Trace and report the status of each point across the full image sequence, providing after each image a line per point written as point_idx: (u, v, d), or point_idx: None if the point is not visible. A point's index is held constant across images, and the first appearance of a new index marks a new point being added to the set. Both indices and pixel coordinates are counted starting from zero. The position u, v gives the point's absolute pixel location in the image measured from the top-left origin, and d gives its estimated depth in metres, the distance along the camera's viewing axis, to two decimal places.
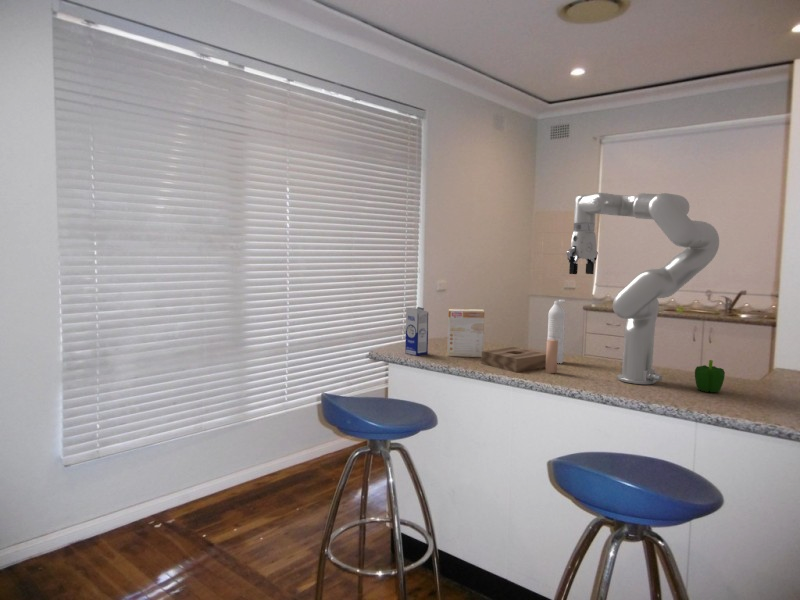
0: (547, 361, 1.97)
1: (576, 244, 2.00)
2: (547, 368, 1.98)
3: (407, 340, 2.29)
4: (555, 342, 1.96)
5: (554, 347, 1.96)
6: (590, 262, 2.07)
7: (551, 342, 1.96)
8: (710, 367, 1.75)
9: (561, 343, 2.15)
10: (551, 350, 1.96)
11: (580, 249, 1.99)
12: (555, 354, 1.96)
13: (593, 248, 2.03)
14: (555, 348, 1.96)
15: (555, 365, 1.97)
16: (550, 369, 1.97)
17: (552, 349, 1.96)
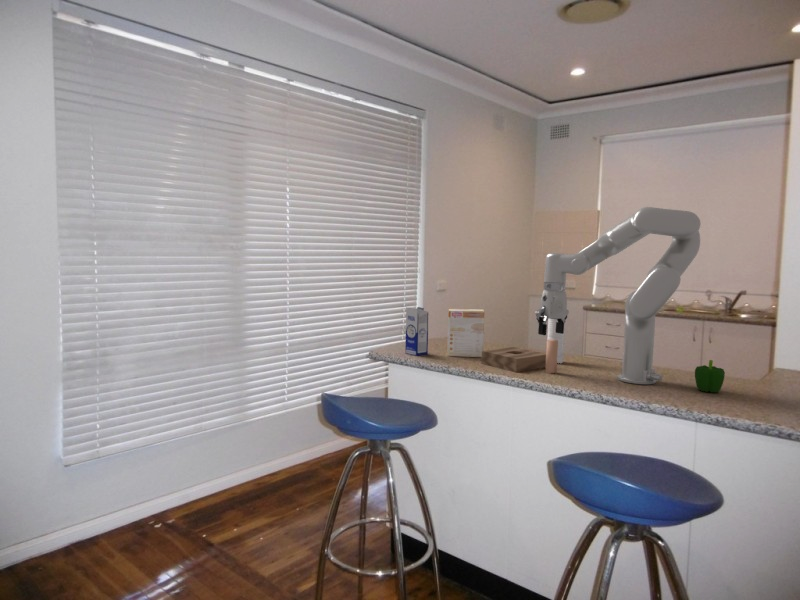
0: (547, 361, 1.97)
1: (545, 304, 1.93)
2: (547, 368, 1.98)
3: (407, 340, 2.29)
4: (555, 342, 1.96)
5: (554, 347, 1.96)
6: (560, 321, 2.00)
7: (551, 342, 1.96)
8: (710, 367, 1.75)
9: (561, 343, 2.15)
10: (551, 350, 1.96)
11: (549, 310, 1.92)
12: (555, 354, 1.96)
13: (563, 308, 1.96)
14: (555, 348, 1.96)
15: (555, 365, 1.97)
16: (550, 369, 1.97)
17: (552, 349, 1.96)
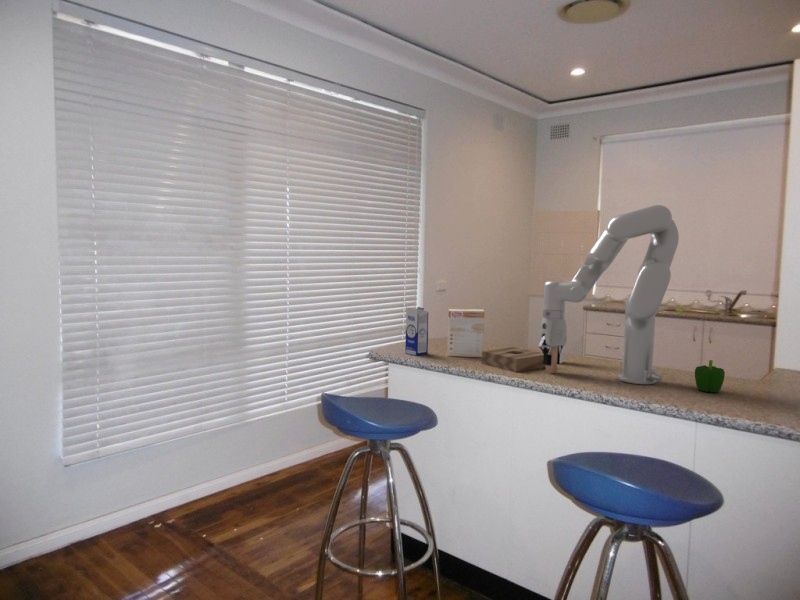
0: None
1: (545, 332, 1.94)
2: (547, 368, 1.98)
3: (407, 340, 2.29)
4: None
5: (554, 347, 1.96)
6: None
7: None
8: (710, 367, 1.75)
9: None
10: (551, 350, 1.96)
11: (549, 338, 1.93)
12: (555, 354, 1.96)
13: (563, 335, 1.97)
14: (555, 348, 1.96)
15: (555, 365, 1.97)
16: (550, 369, 1.97)
17: (552, 349, 1.96)
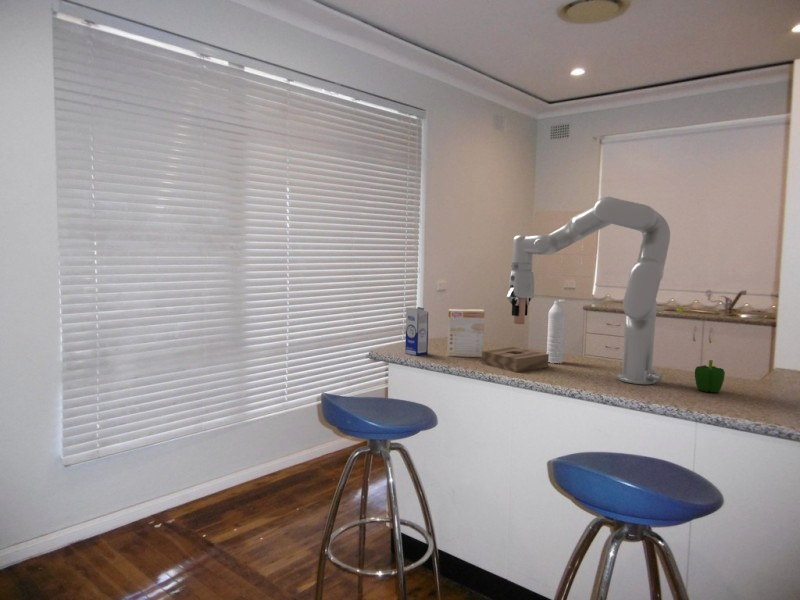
0: None
1: (513, 284, 2.03)
2: (515, 319, 2.07)
3: (407, 340, 2.29)
4: None
5: (522, 298, 2.05)
6: None
7: None
8: (710, 367, 1.75)
9: (561, 343, 2.15)
10: (519, 301, 2.05)
11: (517, 289, 2.02)
12: (523, 305, 2.05)
13: (531, 287, 2.06)
14: (523, 299, 2.05)
15: (523, 316, 2.06)
16: (518, 320, 2.06)
17: (520, 300, 2.05)
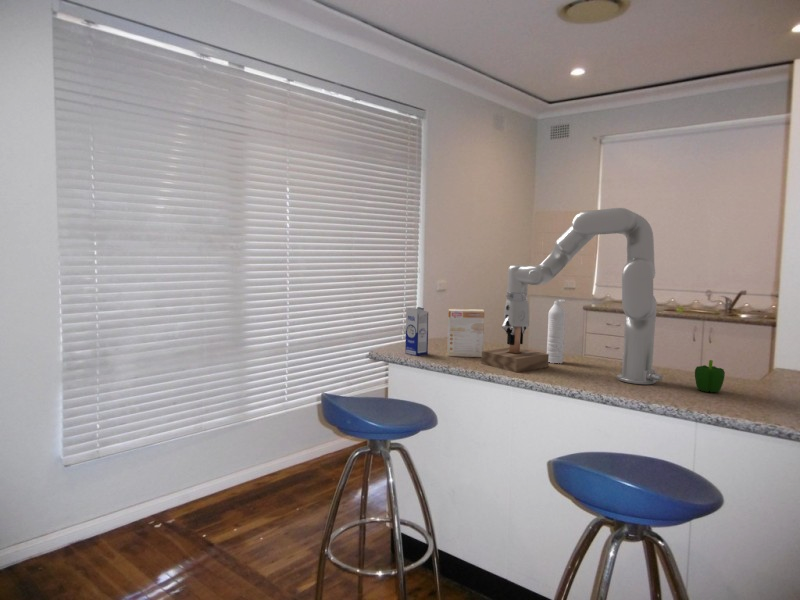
0: None
1: (508, 313, 2.05)
2: (510, 348, 2.09)
3: (407, 340, 2.29)
4: None
5: (517, 327, 2.07)
6: None
7: None
8: (710, 367, 1.75)
9: (561, 343, 2.15)
10: (514, 330, 2.08)
11: (512, 318, 2.04)
12: (518, 334, 2.08)
13: (526, 316, 2.08)
14: (518, 328, 2.07)
15: (518, 345, 2.08)
16: (513, 349, 2.08)
17: (515, 329, 2.07)
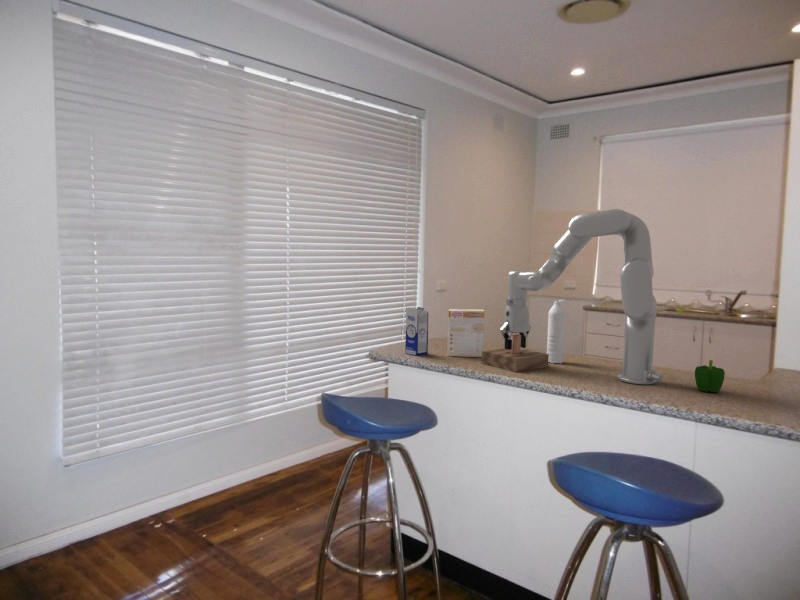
0: None
1: (508, 319, 2.05)
2: None
3: (407, 340, 2.29)
4: (518, 336, 2.08)
5: (517, 341, 2.08)
6: (522, 336, 2.12)
7: (514, 336, 2.08)
8: (710, 367, 1.75)
9: (561, 343, 2.15)
10: (514, 344, 2.08)
11: (512, 324, 2.04)
12: (518, 348, 2.08)
13: (526, 322, 2.08)
14: (518, 342, 2.08)
15: None
16: None
17: (515, 342, 2.08)
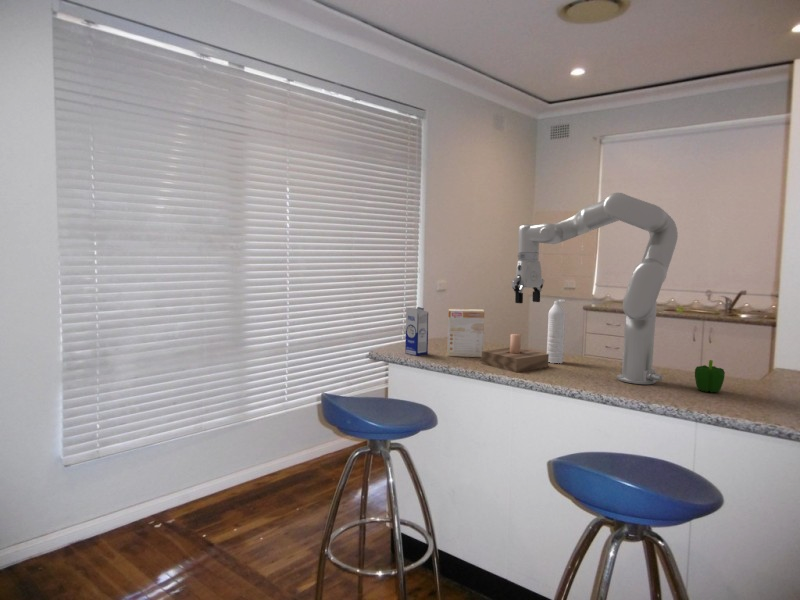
0: None
1: (520, 273, 2.02)
2: None
3: (407, 340, 2.29)
4: (518, 336, 2.08)
5: (517, 341, 2.08)
6: (536, 290, 2.08)
7: (514, 336, 2.08)
8: (710, 367, 1.75)
9: (561, 343, 2.15)
10: (514, 344, 2.08)
11: (524, 278, 2.01)
12: (518, 348, 2.08)
13: (538, 277, 2.05)
14: (518, 342, 2.08)
15: None
16: None
17: (515, 342, 2.08)
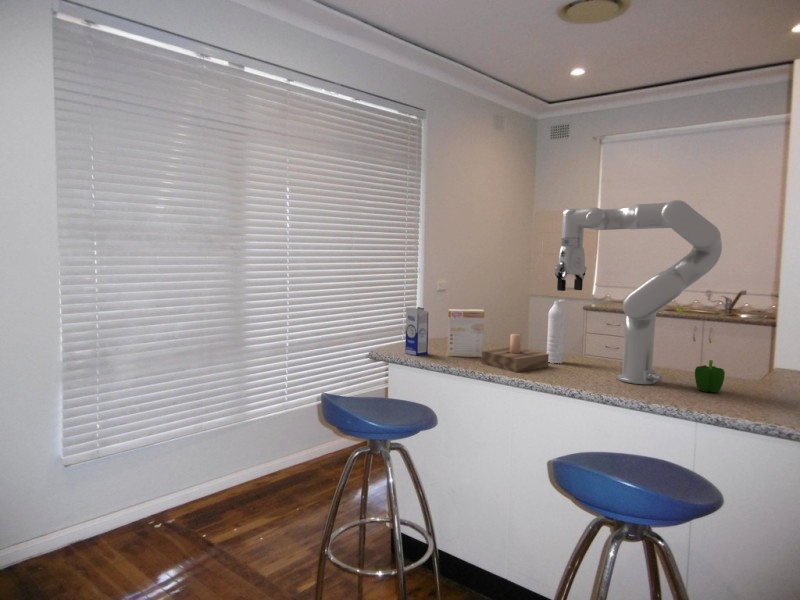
0: None
1: (564, 260, 1.93)
2: None
3: (407, 340, 2.29)
4: (518, 336, 2.08)
5: (517, 341, 2.08)
6: (579, 278, 2.00)
7: (514, 336, 2.08)
8: (710, 367, 1.75)
9: (561, 343, 2.15)
10: (514, 344, 2.08)
11: (568, 265, 1.92)
12: (518, 348, 2.08)
13: (581, 264, 1.96)
14: (518, 342, 2.08)
15: None
16: None
17: (515, 342, 2.08)
